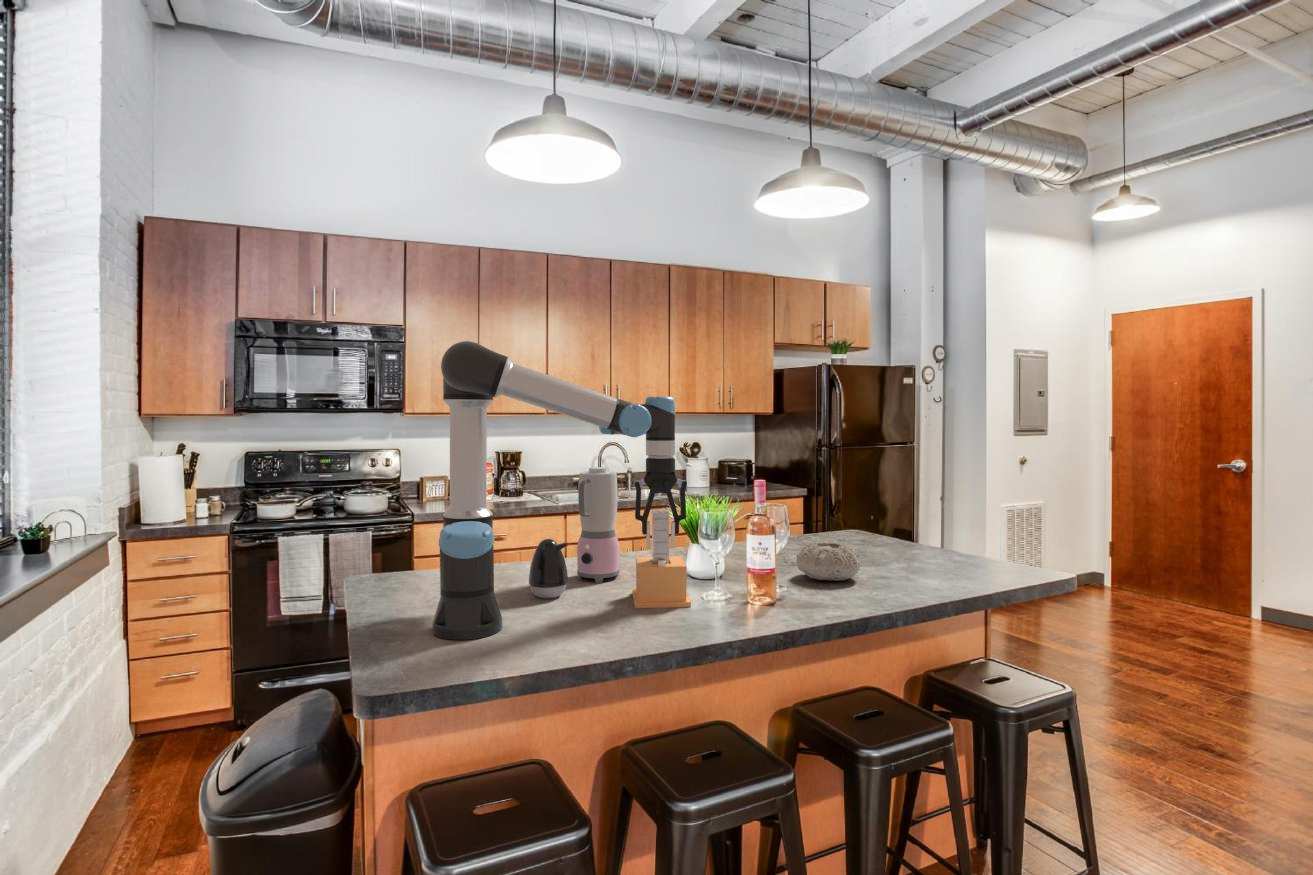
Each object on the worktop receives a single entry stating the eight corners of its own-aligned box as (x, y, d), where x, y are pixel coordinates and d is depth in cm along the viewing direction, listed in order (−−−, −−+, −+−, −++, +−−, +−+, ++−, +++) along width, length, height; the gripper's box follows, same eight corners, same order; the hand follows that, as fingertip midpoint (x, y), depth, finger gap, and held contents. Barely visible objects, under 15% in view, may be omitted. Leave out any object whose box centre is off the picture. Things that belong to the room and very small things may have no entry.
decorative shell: (863, 587, 198) (863, 551, 198) (797, 585, 201) (797, 549, 200) (855, 572, 216) (856, 539, 215) (795, 570, 218) (795, 537, 218)
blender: (592, 570, 218) (591, 465, 217) (627, 575, 212) (627, 467, 211) (562, 582, 204) (561, 469, 203) (598, 587, 198) (598, 471, 197)
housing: (690, 606, 179) (690, 563, 179) (634, 608, 178) (634, 564, 178) (684, 592, 193) (684, 551, 193) (632, 593, 192) (632, 552, 192)
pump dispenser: (561, 602, 183) (560, 543, 183) (522, 600, 186) (522, 541, 185) (573, 592, 193) (573, 536, 193) (537, 590, 195) (536, 534, 195)
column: (670, 597, 183) (670, 512, 182) (652, 597, 182) (652, 513, 181) (668, 590, 189) (668, 509, 188) (651, 591, 188) (651, 509, 187)
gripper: (694, 455, 188) (694, 543, 189) (623, 456, 187) (623, 544, 188) (698, 457, 181) (698, 549, 182) (624, 458, 179) (624, 550, 181)
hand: (660, 546), depth 185 cm, fingers open, 6 cm apart
